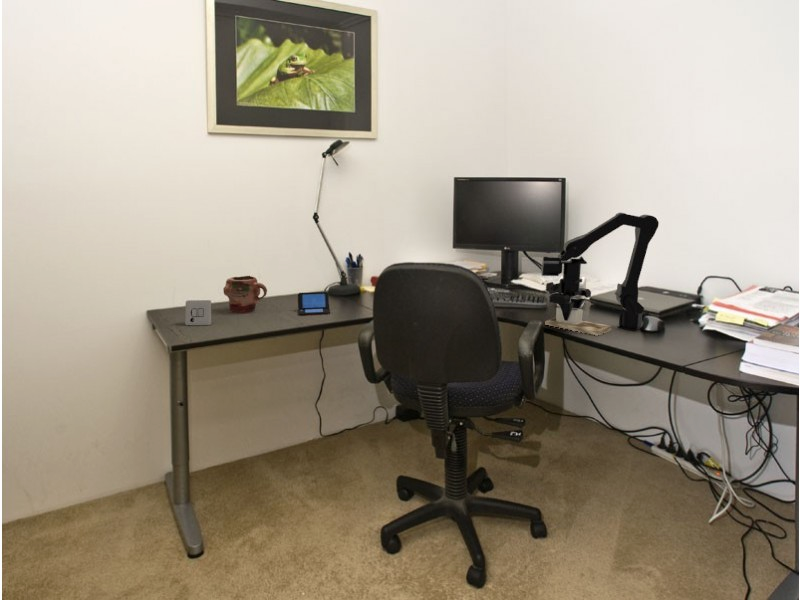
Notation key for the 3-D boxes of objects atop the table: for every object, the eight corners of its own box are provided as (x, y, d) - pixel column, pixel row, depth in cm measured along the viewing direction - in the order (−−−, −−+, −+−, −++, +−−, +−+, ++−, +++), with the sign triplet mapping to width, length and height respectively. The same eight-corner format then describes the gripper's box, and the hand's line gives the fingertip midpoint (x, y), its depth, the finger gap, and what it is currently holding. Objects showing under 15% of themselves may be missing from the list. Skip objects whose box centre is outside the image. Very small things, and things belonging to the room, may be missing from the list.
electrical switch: (184, 326, 207) (183, 301, 206) (190, 323, 212) (188, 299, 211) (210, 325, 207) (209, 300, 206) (214, 323, 212) (213, 299, 211)
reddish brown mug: (275, 308, 233) (273, 275, 231) (262, 315, 222) (260, 280, 219) (232, 306, 238) (229, 274, 235) (216, 313, 226) (214, 279, 223)
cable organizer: (582, 310, 225) (584, 281, 223) (555, 308, 229) (556, 280, 227) (585, 302, 239) (586, 276, 237) (559, 301, 243) (560, 274, 240)
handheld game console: (298, 316, 221) (297, 298, 219) (298, 310, 231) (297, 292, 229) (330, 314, 223) (329, 296, 221) (328, 309, 233) (328, 291, 232)
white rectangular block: (581, 323, 199) (582, 308, 198) (576, 325, 196) (576, 310, 195) (561, 319, 205) (562, 305, 204) (555, 321, 202) (556, 306, 201)
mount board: (611, 330, 195) (611, 324, 194) (597, 336, 188) (597, 330, 188) (560, 320, 209) (560, 315, 208) (545, 325, 202) (545, 320, 202)
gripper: (565, 270, 209) (562, 311, 212) (536, 276, 197) (534, 320, 200) (592, 274, 201) (590, 316, 204) (565, 280, 189) (562, 325, 192)
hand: (569, 319), depth 200 cm, fingers closed on white rectangular block, 4 cm apart
